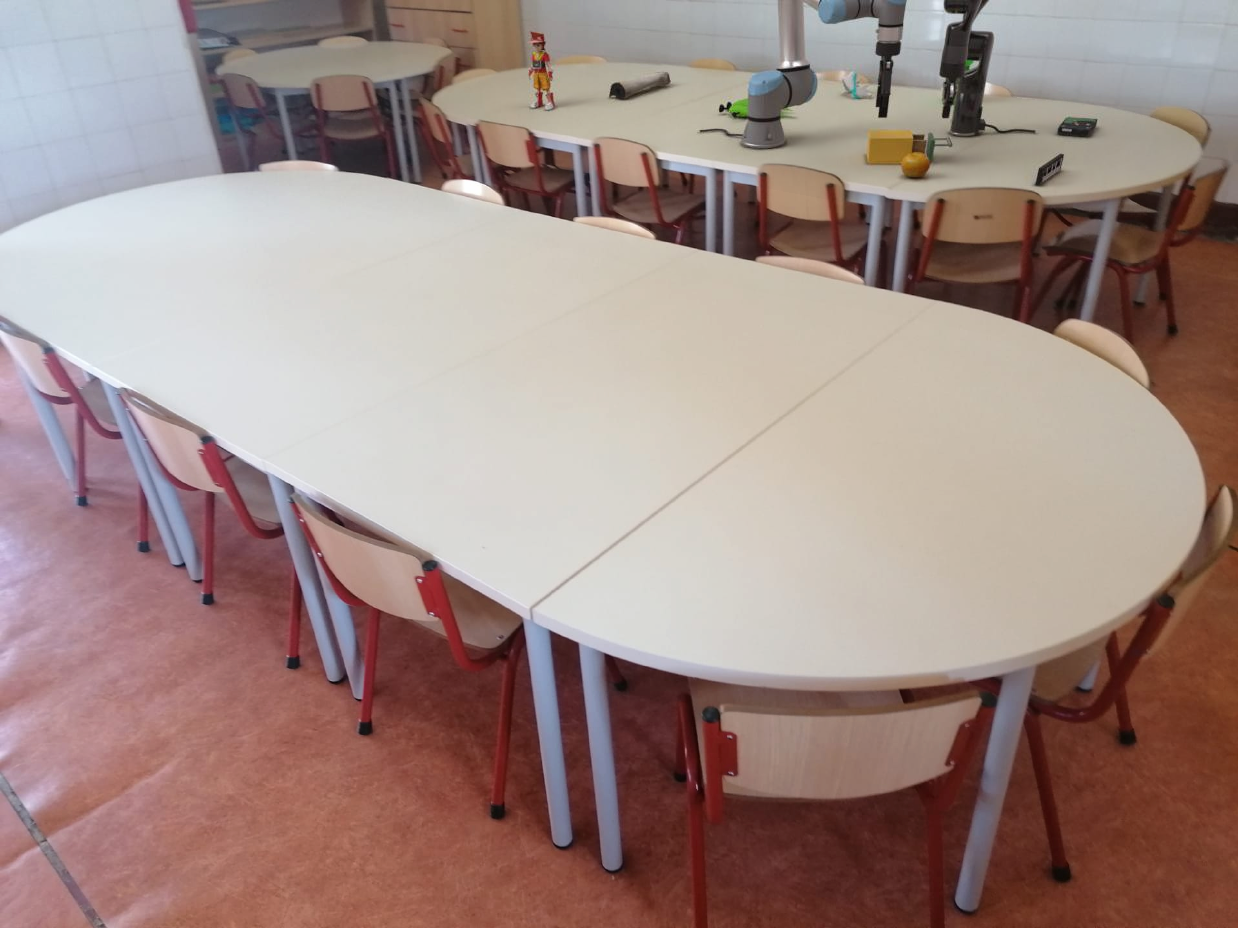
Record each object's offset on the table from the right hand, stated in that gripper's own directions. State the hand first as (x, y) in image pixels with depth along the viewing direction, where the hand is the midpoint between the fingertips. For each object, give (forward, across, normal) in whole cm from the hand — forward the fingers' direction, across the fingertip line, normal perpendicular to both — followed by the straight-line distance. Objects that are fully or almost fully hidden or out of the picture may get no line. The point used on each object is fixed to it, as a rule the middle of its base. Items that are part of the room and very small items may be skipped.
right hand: (945, 117), depth 288 cm
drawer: (+12, 0, -6) cm, 14 cm away
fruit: (+13, +18, -10) cm, 25 cm away
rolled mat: (+13, -101, -116) cm, 154 cm away
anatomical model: (+13, -90, -24) cm, 94 cm away
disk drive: (+13, -33, +50) cm, 61 cm away
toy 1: (+13, -76, -154) cm, 172 cm away
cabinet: (+13, 0, -16) cm, 21 cm away
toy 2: (+13, -60, -61) cm, 87 cm away
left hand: (-2, 0, -20) cm, 20 cm away
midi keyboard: (+13, +20, +30) cm, 38 cm away
